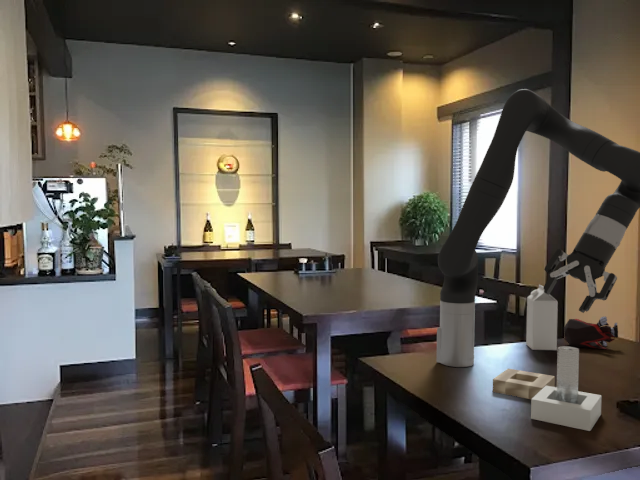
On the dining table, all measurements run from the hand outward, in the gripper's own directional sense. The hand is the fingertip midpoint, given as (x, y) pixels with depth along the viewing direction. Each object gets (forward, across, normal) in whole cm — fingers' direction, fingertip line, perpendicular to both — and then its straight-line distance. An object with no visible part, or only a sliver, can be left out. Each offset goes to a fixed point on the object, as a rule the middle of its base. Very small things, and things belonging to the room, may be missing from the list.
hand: (563, 302), depth 128 cm
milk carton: (+14, -14, +48) cm, 51 cm away
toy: (+6, -5, +58) cm, 58 cm away
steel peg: (+20, +14, -5) cm, 25 cm away
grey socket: (+21, +14, -5) cm, 25 cm away
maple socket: (+22, +1, +5) cm, 23 cm away
